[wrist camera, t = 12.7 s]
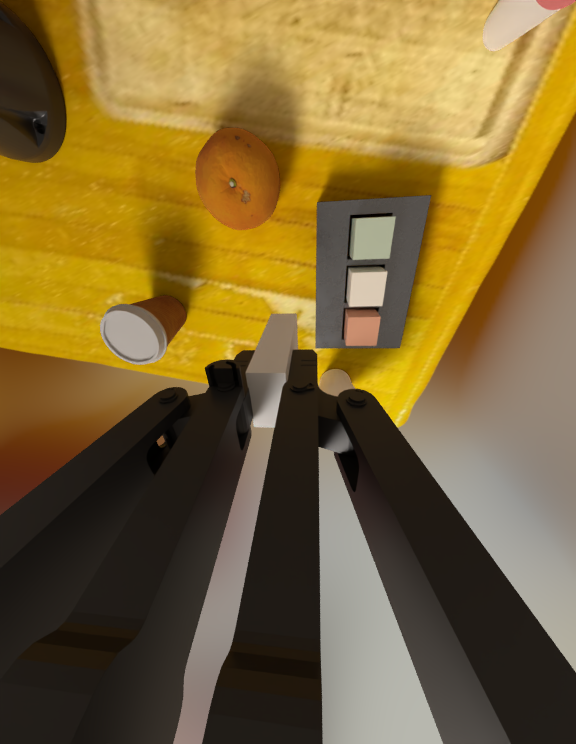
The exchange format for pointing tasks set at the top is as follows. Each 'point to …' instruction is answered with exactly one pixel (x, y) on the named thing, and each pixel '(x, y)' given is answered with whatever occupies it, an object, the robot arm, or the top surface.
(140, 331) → the disposable coffee cup
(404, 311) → the panel
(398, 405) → the top surface
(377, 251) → the key sage
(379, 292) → the key cream
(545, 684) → the robot arm
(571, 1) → the cup
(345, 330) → the key terracotta
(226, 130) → the fruit
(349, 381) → the cup
